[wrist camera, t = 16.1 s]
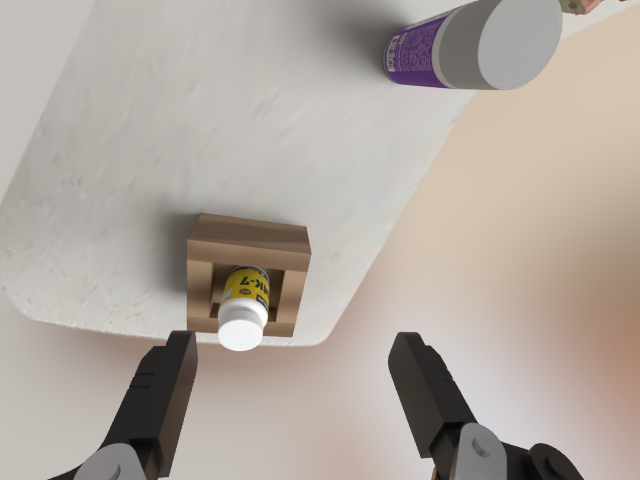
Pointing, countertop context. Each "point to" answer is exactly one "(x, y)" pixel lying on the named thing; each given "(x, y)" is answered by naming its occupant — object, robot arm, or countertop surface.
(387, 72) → the container
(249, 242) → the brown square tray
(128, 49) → the countertop surface
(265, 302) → the supplement bottle
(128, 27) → the countertop surface
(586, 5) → the decorative box
